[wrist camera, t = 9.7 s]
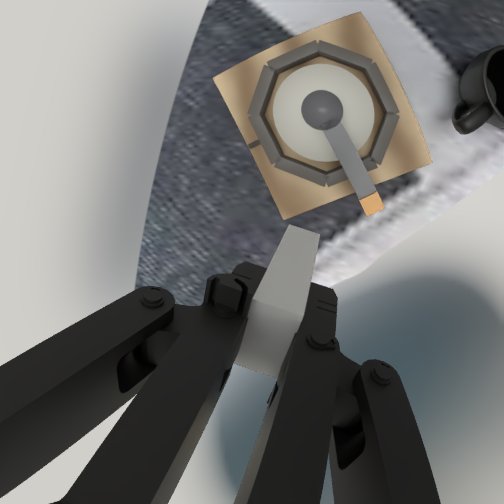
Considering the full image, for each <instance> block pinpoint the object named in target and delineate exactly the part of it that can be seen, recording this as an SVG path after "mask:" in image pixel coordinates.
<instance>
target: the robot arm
mask: <svg viewBox="0 0 504 504" xmlns="http://www.w3.org/2000/svg"><path fill="white" fill-rule="evenodd" d="M319 238H320V234H317V233H314V232H311V231H308V230H305V229H302V228H299V227H296V226H293V225H290V224H289V226H288V228H287V230H286V232H285V234H284V236H283V238H282V240H281V242H280V244H279V246H278V248H277V250H276V252H275V254H274V256H273V258H272V260H271V262H270V264H269V267H268V269H267V268H264V267H261V266H258V265H255V264H252V263H249V262H243V263H241V264H239V265H237V266H236V267H235V269H234V270H233V272H232V273H231V274H216V275H212V276H211V277H209V278H208V279H207V284H206V290H205V296H204V302H203V303H202V305H201V306H186V305H179V304H175V299H174V297H173V295H172V294H171V293H170V292H169V291H168V290H165V289H163V288H161V287H155V286H145V287H141V288H138V289H136V290H134V291H132V292H131V293H129V294H127V295H126V296H123V297H122V298H120V299H118V300H116V301H114V302H112V303H111V304H109V305H107V306H105V307H103V308H102V309H100V310H98V311H96V312H94V313H93V314H91V315H89V316H87V317H86V318H84V319H82V320H80V321H78V322H77V323H75V324H73V325H71V326H69V327H68V328H66V329H64V330H62V331H61V332H59V333H57V334H55V335H53V336H52V337H50V338H48V339H46V340H45V341H43V342H41V343H39V344H38V345H36V346H35V347H33V348H31V349H29V350H27V351H26V352H24V353H22V354H21V355H19V356H17V357H15V358H14V359H12V360H10V361H8V362H7V363H5V364H3V365H2V366H0V498H1V497H3V496H4V495H6V494H7V493H8V492H10V491H11V490H13V489H14V488H16V487H17V486H18V485H20V484H21V483H22V482H24V481H25V480H27V479H28V478H29V477H31V476H32V475H33V474H35V473H36V472H37V471H39V470H40V469H41V468H43V467H44V466H45V465H47V464H48V463H49V462H51V461H52V460H53V459H55V458H56V457H57V456H59V455H60V454H61V453H63V452H64V451H65V450H66V449H68V448H69V447H71V446H72V445H73V444H74V443H76V442H77V441H78V440H80V439H81V438H82V437H83V436H85V435H86V434H87V433H88V432H90V431H91V430H92V429H94V428H95V427H96V426H97V425H99V424H100V423H101V422H102V421H104V420H105V419H106V418H108V417H109V416H110V415H111V414H113V413H114V412H115V411H116V410H118V409H119V408H120V407H121V406H123V405H124V404H125V403H126V402H127V401H129V400H130V399H131V398H132V397H134V396H135V395H136V394H137V395H136V396H135V398H134V399H133V400H132V402H131V403H130V405H129V406H128V407H127V409H126V411H125V412H124V413H123V414H122V416H121V417H120V419H119V420H118V421H117V423H116V424H115V426H114V427H113V429H112V430H111V431H110V433H109V434H108V436H107V437H106V438H105V440H104V441H103V443H102V444H101V446H100V447H99V448H98V450H97V451H96V453H95V454H94V456H93V457H92V458H91V460H90V461H89V463H88V464H87V465H86V467H85V468H84V470H83V471H82V473H81V474H80V476H79V477H78V478H77V480H76V481H75V483H74V484H73V486H72V487H71V488H70V490H69V491H68V493H67V494H66V495H65V496H64V497H63V498H62V499H61V500H60V501H57V502H54V503H50V504H168V502H169V500H170V498H171V496H172V494H173V492H174V490H175V488H176V486H177V484H178V482H179V480H180V478H181V476H182V474H183V472H184V470H185V468H186V466H187V464H188V462H189V460H190V458H191V456H192V454H193V452H194V450H195V448H196V446H197V444H198V441H199V439H200V437H201V435H202V433H203V431H204V429H205V427H206V425H207V423H208V421H209V418H210V416H211V414H212V412H213V410H214V408H215V406H216V404H217V402H218V399H219V397H220V395H221V393H222V391H223V389H224V386H225V384H226V382H227V380H228V378H229V375H230V372H231V369H232V365H233V363H234V364H237V365H239V366H242V367H245V368H248V369H251V370H254V371H256V372H260V373H262V374H265V375H268V376H272V377H275V378H278V379H277V382H276V384H275V386H274V388H273V390H272V393H271V395H270V397H269V399H268V401H267V403H268V407H267V410H266V413H265V416H264V419H263V422H262V425H261V428H260V431H259V434H258V437H257V440H256V443H255V446H254V449H253V452H252V455H251V458H250V461H249V463H248V467H247V469H246V472H245V475H244V478H243V480H242V483H241V486H240V488H239V491H238V494H237V497H236V499H235V502H234V504H320V499H321V494H322V489H323V483H324V478H325V471H326V466H327V459H328V453H329V460H330V469H331V476H332V485H333V494H334V504H441V503H440V499H439V495H438V492H437V488H436V484H435V481H434V477H433V474H432V470H431V467H430V463H429V460H428V457H427V454H426V450H425V447H424V444H423V441H422V438H421V435H420V432H419V429H418V426H417V423H416V420H415V417H414V414H413V412H412V409H411V406H410V403H409V400H408V398H407V395H406V392H405V389H404V387H403V384H402V382H401V379H400V376H399V375H398V373H397V371H396V370H395V369H394V368H393V367H392V366H390V365H389V364H387V363H385V362H383V361H380V360H376V359H374V360H367V361H366V362H364V363H363V364H362V366H361V365H359V364H357V363H355V362H354V361H352V360H350V359H349V358H347V357H346V356H344V355H343V354H342V353H341V352H340V347H339V342H338V340H337V339H336V338H335V331H336V317H337V314H336V313H337V300H338V298H337V296H336V294H335V292H334V290H333V289H331V288H328V287H325V286H322V285H319V284H316V283H313V282H311V279H312V274H313V269H314V264H315V259H316V254H317V248H318V243H319ZM234 361H235V362H234ZM278 375H279V376H278Z"/></svg>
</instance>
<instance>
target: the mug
mask: <svg viewBox="0 0 504 504" xmlns="http://www.w3.org/2000/svg"><path fill="white" fill-rule="evenodd" d="M459 93H460V97H461V99H462V101H461V102H460V103H459V104H458V105H457V106H456V108H455V109H454V112H453V116H452V123H453V125H454V127H455V129H456V130H457V131H458V132H459V133H460V134H469V133H471V132H473V131H475V130H476V129H478V128H479V127H480V126H482V125H483V124H484V123H485V122H487V123H490V124H492V125H494V126H497V127H499V128H502V129H504V45H499V46H497V47H494V48H492V49H490V50H487V51H485V52H483V53H480V54H479V55H478V56H477V57H476V58H474V59H473V60H472V61H471V62H470V63H469V65H468V66H467V68H466V70H465V71H464V73H463V75H462V77H461V79H460V82H459ZM470 111H471V113H470V114H469V115H467V116H466V117H464V116H465V115H466V114H467V113H469V112H470Z"/></svg>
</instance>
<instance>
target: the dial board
mask: <svg viewBox="0 0 504 504" xmlns="http://www.w3.org/2000/svg"><path fill="white" fill-rule="evenodd" d="M314 64H329V65H334V66H338V67H340V68H343V69H345V70H347V71H349V72H350V73H352V74H353V75H355V76H356V77H357V78H358V79H359V80H360V81H361V82H362V83H363V84H364V86H365V87H366V89H367V90H368V92H369V94H370V96H371V99H372V102H373V106H374V124H373V129H372V131H371V134H370V136H369V138H368V140H367V141H366V142H365V144H364V145H363V146H362V147H361V148H360V149H359V150H358V151H357V152H358V154H359V156H360V158H361V160H362V162H363V164H364V166H365V168H366V170H367V172H368V174H369V176H370V178H371V180H372V182H373V184H374V185H376V184H378V183H381V182H384V181H386V180H389V179H391V178H394V177H397V176H399V175H402V174H405V173H407V172H410V171H413V170H415V169H418V168H421V167H423V166H426V165H429V164H431V163H433V162H432V159H431V156H430V153H429V151H428V148H427V145H426V142H425V140H424V137H423V134H422V132H421V129H420V127H419V124H418V122H417V119H416V117H415V115H414V112H413V110H412V107H411V105H410V103H409V101H408V98H407V96H406V94H405V92H404V90H403V88H402V85H401V83H400V81H399V79H398V77H397V75H396V73H395V71H394V69H393V67H392V65H391V63H390V61H389V59H388V58H387V56H386V54H385V52H384V50H383V48H382V47H381V45H380V43H379V41H378V39H377V38H376V36H375V34H374V33H373V31H372V29H371V28H370V26H369V24H368V23H367V21H366V19H365V18H364V16H363V15H362V13H361V11H360V12H357V13H354V14H351V15H348V16H346V17H343V18H340V19H337V20H334V21H332V22H329V23H326V24H324V25H321V26H319V27H316V28H314V29H311V30H309V31H306V32H304V33H302V34H299V35H297V36H295V37H292V38H290V39H288V40H286V41H284V42H281V43H279V44H277V45H275V46H273V47H271V48H269V49H267V50H265V51H262V52H260V53H258V54H256V55H254V56H253V57H251V58H249V59H247V60H245V61H243V62H241V63H239V64H237V65H235V66H234V67H232V68H230V69H228V70H226V71H224V72H223V73H221V74H219V75H217V76H216V77H214V78H213V80H214V81H215V83H216V85H217V87H218V89H219V91H220V93H221V95H222V97H223V98H224V100H225V102H226V104H227V106H228V108H229V110H230V112H231V114H232V116H233V118H234V120H235V122H236V124H237V126H238V128H239V129H240V131H241V133H242V135H243V137H244V139H245V141H246V143H247V145H248V147H249V149H250V151H251V153H252V155H253V157H254V159H255V161H256V163H257V166H258V168H259V170H260V172H261V174H262V176H263V178H264V180H265V182H266V184H267V186H268V188H269V190H270V192H271V194H272V196H273V199H274V201H275V203H276V205H277V207H278V209H279V211H280V213H281V215H282V218H283V220H286V219H288V218H291V217H293V216H296V215H298V214H301V213H303V212H306V211H309V210H311V209H314V208H316V207H319V206H321V205H324V204H326V203H329V202H332V201H334V200H337V199H339V198H342V197H344V196H347V195H350V194H352V193H355V190H354V188H353V186H352V184H351V182H350V180H349V178H348V177H347V175H346V173H345V171H344V169H343V167H342V165H341V163H340V161H339V160H337V161H331V162H322V161H315V160H311V159H308V158H306V157H303V156H301V155H299V154H298V153H296V152H295V151H293V150H292V149H291V148H290V147H289V146H288V145H287V144H286V143H285V142H284V141H283V139H282V138H281V136H280V135H279V133H278V131H277V128H276V126H275V122H274V118H273V104H274V99H275V96H276V93H277V91H278V89H279V87H280V85H281V84H282V82H283V81H284V80H285V79H286V78H287V77H288V76H289V75H290V74H292V73H293V72H295V71H296V70H298V69H300V68H302V67H305V66H308V65H314Z"/></svg>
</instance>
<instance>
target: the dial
mask: <svg viewBox="0 0 504 504" xmlns="http://www.w3.org/2000/svg"><path fill="white" fill-rule="evenodd" d="M273 118H274V122H275V126H276V128H277V131H278V133H279V135H280V136H281V138H282V139H283V141H284V142H285V143H286V144H287V145H288V146H289V147H290V148H291V149H292V150H293V151H295V152H296V153H298V154H299V155H301V156H303V157H306V158H308V159H311V160H315V161H322V162H331V161H337V160H339V161H340V163H341V165H342V167H343V169H344V171H345V173H346V175H347V177H348V178H349V180H350V182H351V184H352V186H353V188H354V190H355V192H356V194H357V196H358V198H359V201H360V203H361V205H362V207H363V209H364V211H365V213H366V215H367V216H369V215H371V214H374V213H376V212H378V211H380V210H382V209H384V208H385V207H384V205H383V203H382V201H381V199H380V196H379V194H378V192H377V190H376V188H375V186H374V184H373V182H372V180H371V178H370V176H369V174H368V172H367V170H366V168H365V166H364V164H363V162H362V160H361V158H360V156H359V154H358V152H357V151H358V150H359V149H360V148H361V147H362V146H363V145H364V144H365V142H366V141H367V140H368V138H369V136H370V134H371V131H372V129H373V124H374V106H373V102H372V99H371V96H370V94H369V92H368V90H367V89H366V87H365V86H364V84H363V83H362V82H361V81H360V80H359V79H358V78H357V77H356V76H355V75H353V74H352V73H350V72H349V71H347V70H345V69H343V68H340V67H338V66H334V65H329V64H314V65H308V66H305V67H302V68H300V69H298V70H296V71H295V72H293V73H292V74H290V75H289V76H288V77H287V78H286V79H285V80H284V81H283V82H282V84H281V85H280V87H279V89H278V91H277V93H276V96H275V99H274V104H273Z"/></svg>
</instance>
